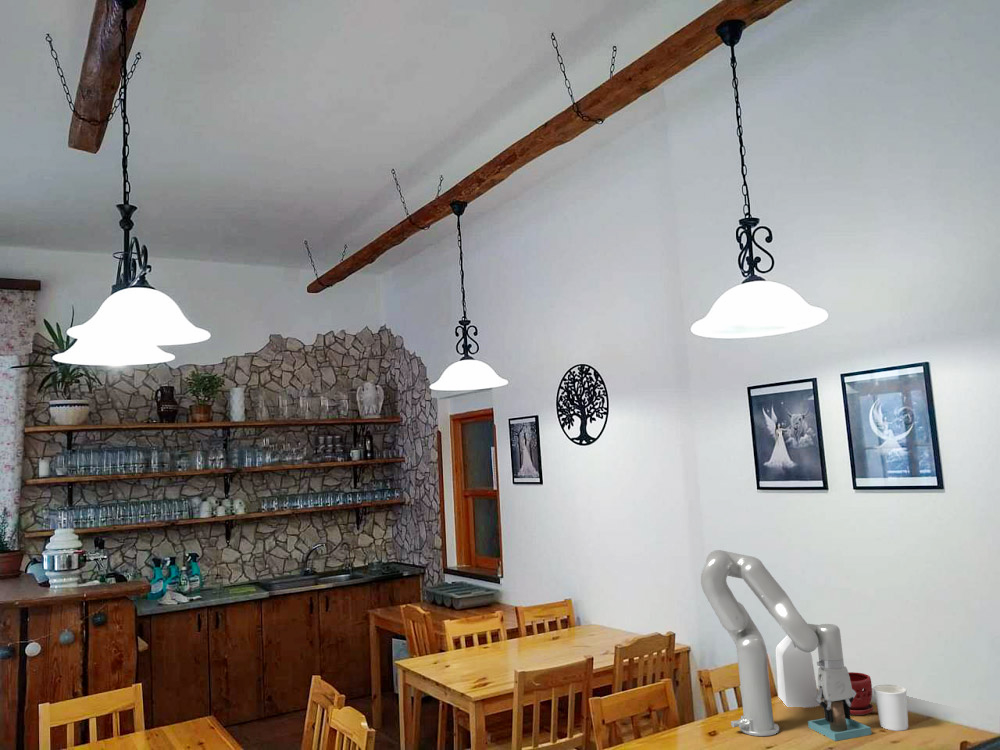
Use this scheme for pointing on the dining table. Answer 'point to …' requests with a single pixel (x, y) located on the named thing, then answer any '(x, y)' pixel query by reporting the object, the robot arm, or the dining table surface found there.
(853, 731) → the tray
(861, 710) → the plant pot
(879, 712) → the candle holder
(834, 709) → the pepper mill
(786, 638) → the milk
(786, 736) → the dining table surface
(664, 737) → the dining table surface
